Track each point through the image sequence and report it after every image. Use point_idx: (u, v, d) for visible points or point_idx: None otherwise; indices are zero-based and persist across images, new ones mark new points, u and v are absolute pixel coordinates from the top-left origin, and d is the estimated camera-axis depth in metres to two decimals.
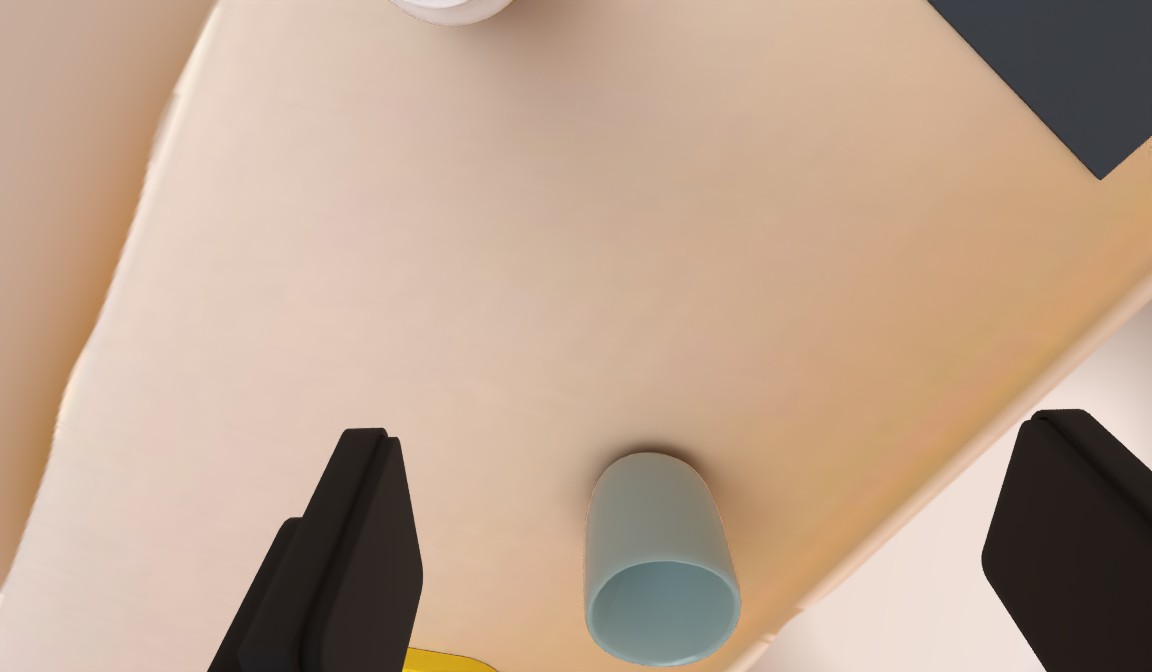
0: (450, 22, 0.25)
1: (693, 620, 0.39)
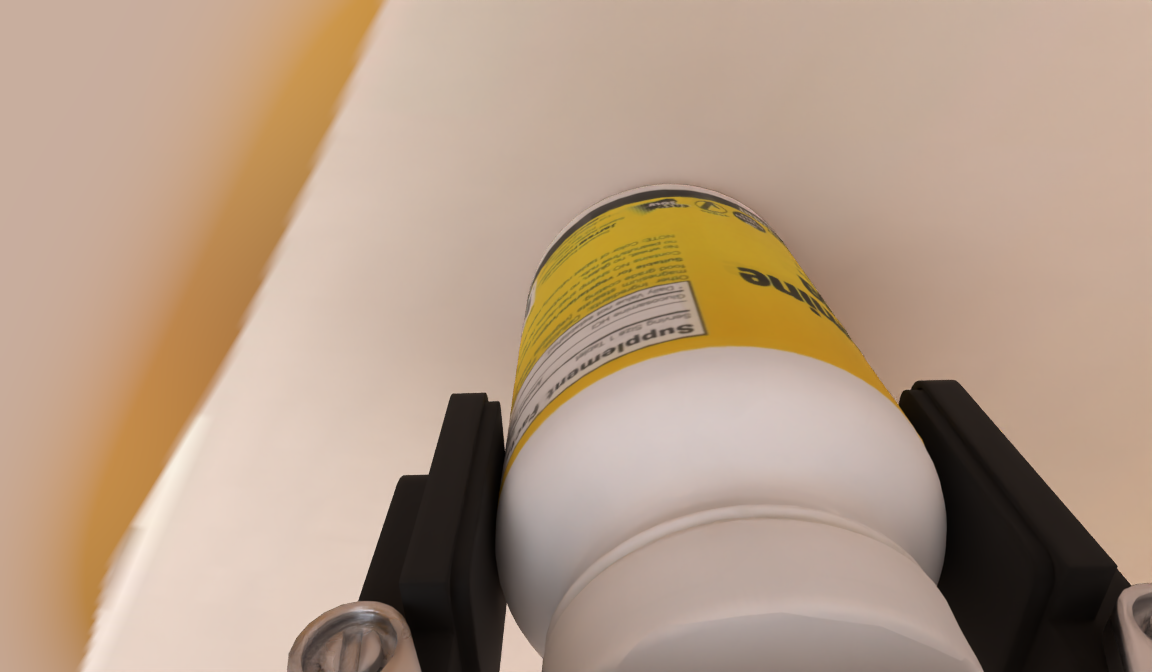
0: None
1: None
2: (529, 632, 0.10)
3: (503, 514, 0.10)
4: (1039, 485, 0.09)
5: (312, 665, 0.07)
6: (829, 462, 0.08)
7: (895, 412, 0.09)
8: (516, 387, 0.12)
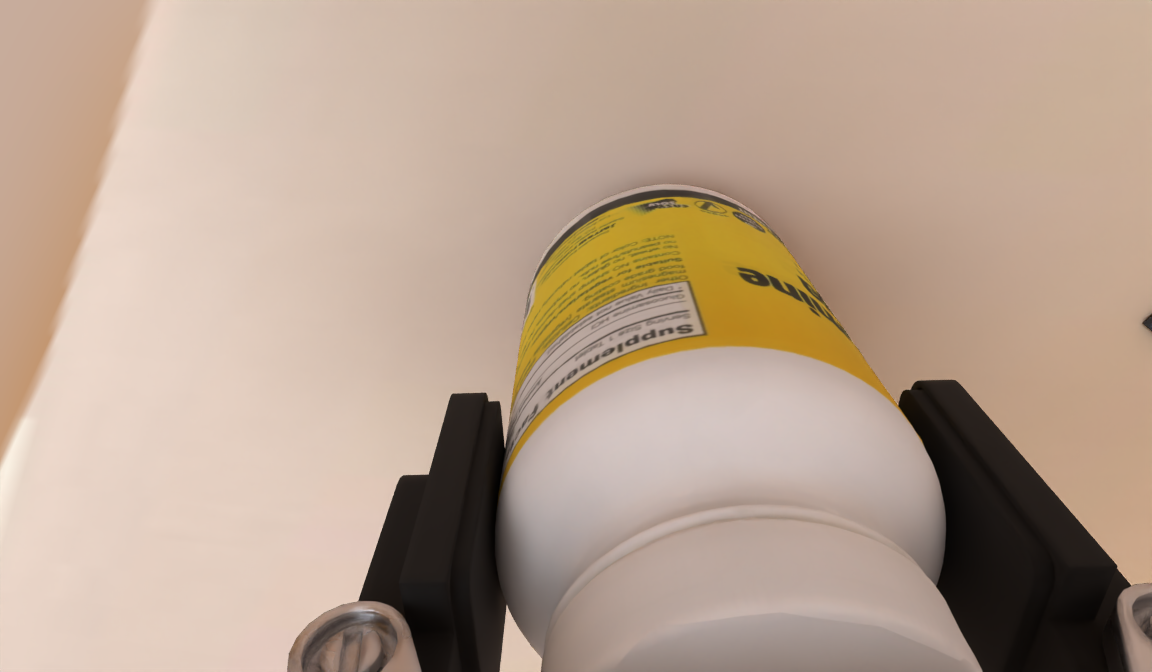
0: None
1: None
2: (528, 632, 0.10)
3: (502, 514, 0.10)
4: (1039, 485, 0.09)
5: (312, 665, 0.07)
6: (828, 462, 0.08)
7: (894, 412, 0.09)
8: (515, 387, 0.12)
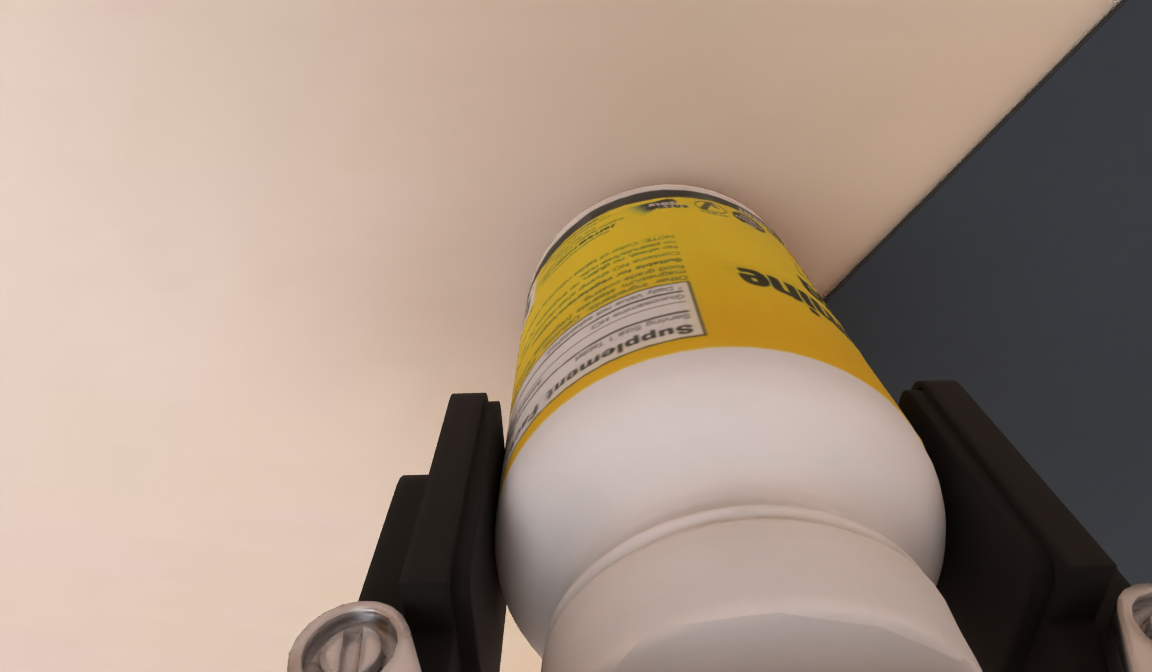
0: None
1: None
2: (528, 632, 0.10)
3: (502, 514, 0.10)
4: (1039, 485, 0.09)
5: (312, 665, 0.07)
6: (829, 463, 0.08)
7: (894, 412, 0.09)
8: (516, 387, 0.12)
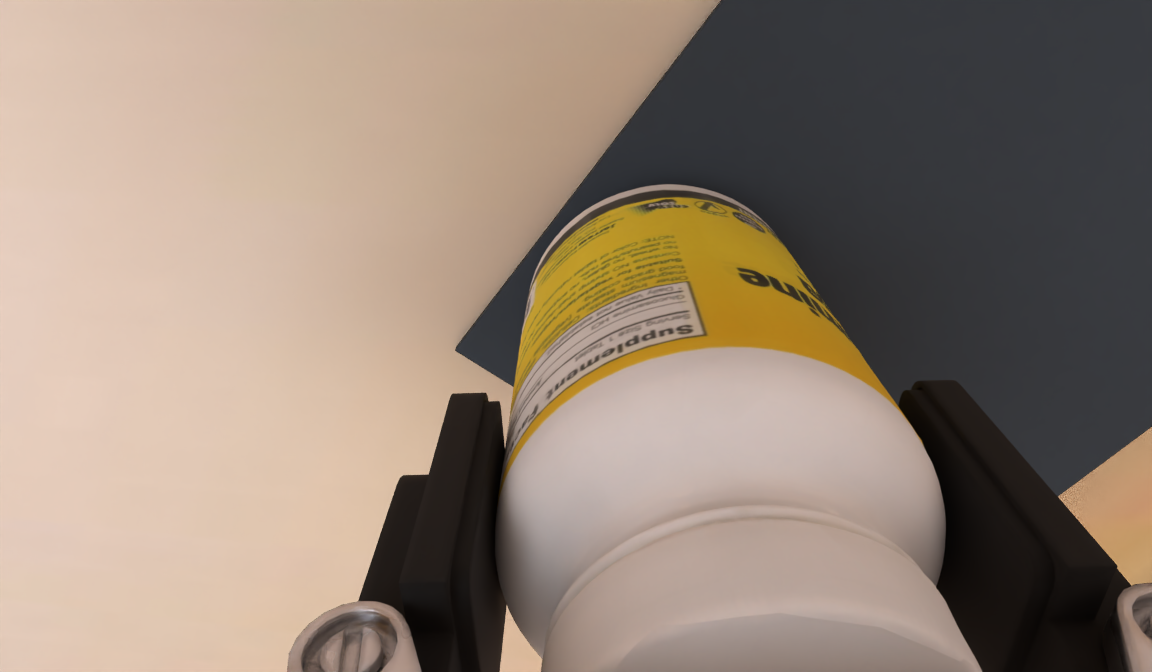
0: None
1: None
2: (528, 632, 0.10)
3: (502, 515, 0.10)
4: (1039, 485, 0.09)
5: (312, 665, 0.07)
6: (828, 463, 0.08)
7: (894, 413, 0.09)
8: (515, 387, 0.12)
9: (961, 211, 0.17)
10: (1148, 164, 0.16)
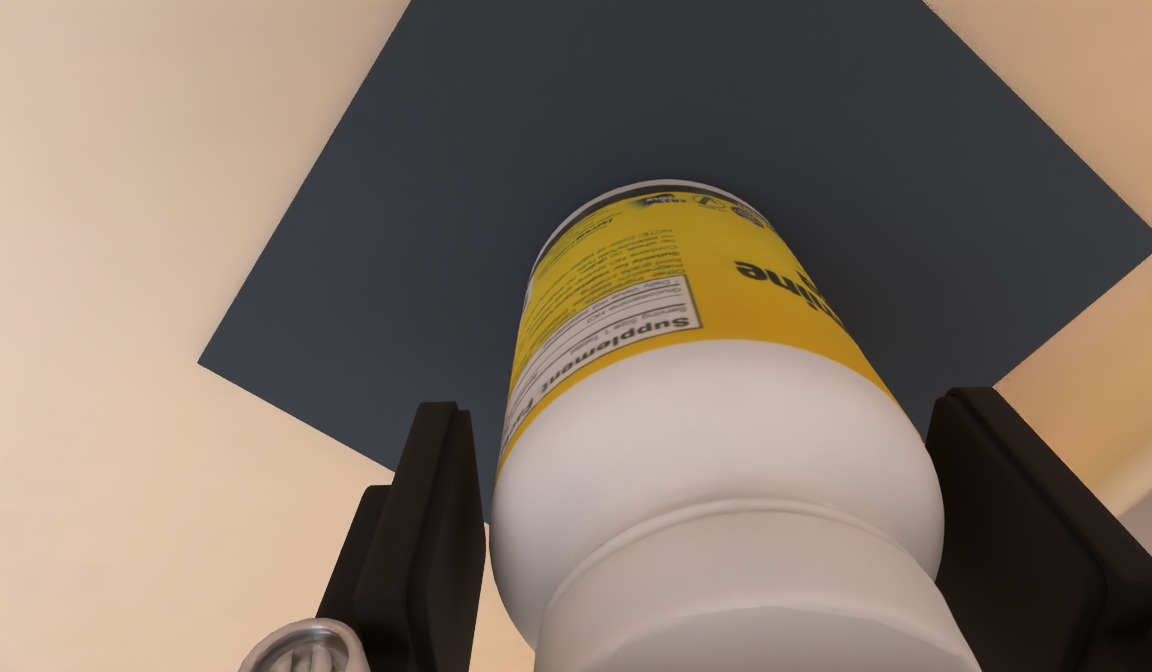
0: None
1: None
2: (523, 628, 0.10)
3: (497, 509, 0.10)
4: (1087, 496, 0.09)
5: None
6: (824, 456, 0.08)
7: (892, 406, 0.09)
8: (512, 382, 0.12)
9: None
10: (876, 175, 0.16)
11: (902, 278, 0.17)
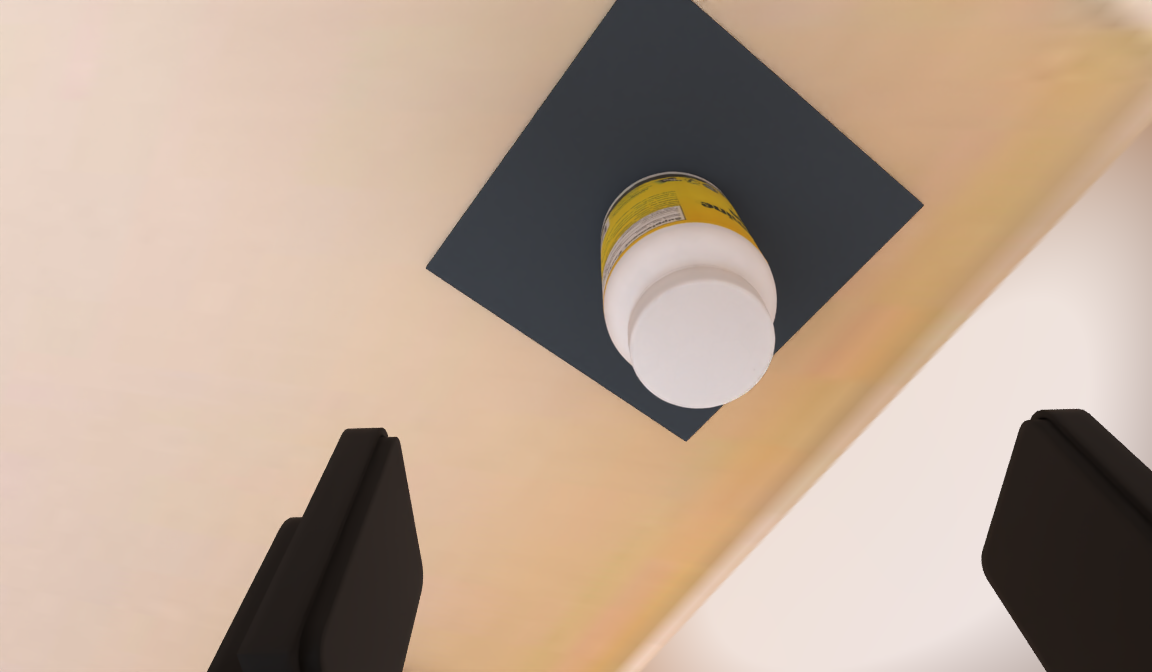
0: None
1: None
2: (618, 335, 0.26)
3: (609, 287, 0.26)
4: None
5: None
6: (726, 258, 0.24)
7: (753, 247, 0.25)
8: (606, 255, 0.28)
9: None
10: (776, 170, 0.32)
11: (792, 223, 0.33)
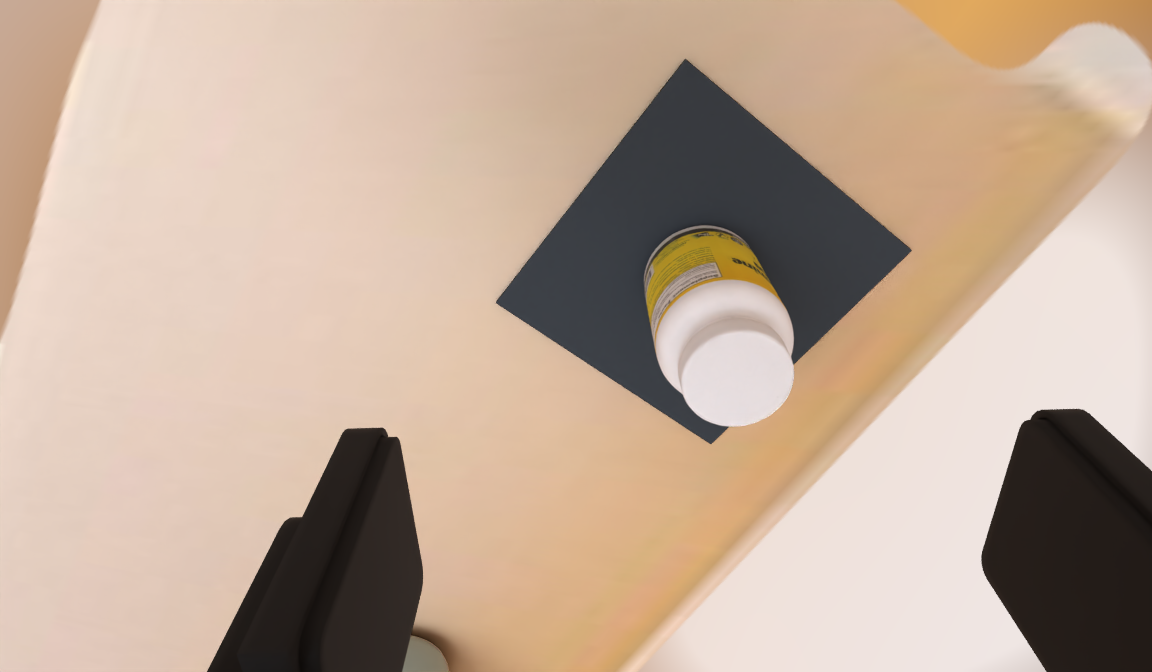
0: None
1: None
2: (668, 368, 0.33)
3: (661, 330, 0.32)
4: None
5: None
6: (755, 309, 0.31)
7: (776, 298, 0.32)
8: (654, 300, 0.35)
9: None
10: (789, 223, 0.39)
11: (803, 265, 0.40)
